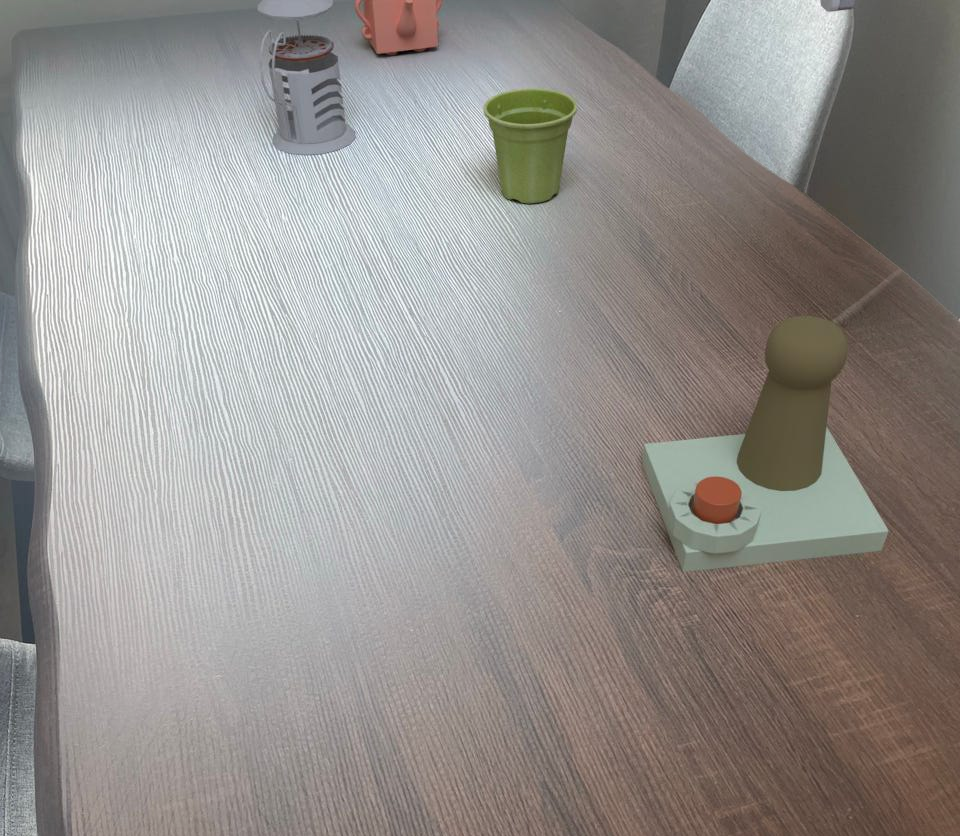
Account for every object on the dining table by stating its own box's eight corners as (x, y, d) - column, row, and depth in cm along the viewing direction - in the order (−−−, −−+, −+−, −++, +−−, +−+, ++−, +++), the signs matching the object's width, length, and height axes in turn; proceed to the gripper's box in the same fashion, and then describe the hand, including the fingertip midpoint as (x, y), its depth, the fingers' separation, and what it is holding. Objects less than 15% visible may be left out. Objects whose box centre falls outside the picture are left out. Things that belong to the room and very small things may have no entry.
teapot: (430, 24, 145) (427, -45, 139) (458, 59, 136) (455, -13, 129) (348, 34, 143) (341, -36, 137) (370, 71, 134) (364, -2, 127)
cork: (720, 466, 74) (745, 330, 66) (765, 428, 77) (795, 293, 69) (793, 502, 71) (829, 364, 63) (838, 461, 74) (878, 324, 66)
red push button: (730, 494, 70) (734, 473, 69) (743, 522, 68) (747, 502, 67) (687, 498, 70) (690, 478, 68) (699, 527, 68) (702, 507, 66)
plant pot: (497, 217, 105) (496, 129, 99) (476, 179, 111) (473, 93, 105) (585, 205, 106) (589, 117, 100) (559, 168, 112) (561, 83, 106)
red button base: (820, 445, 78) (831, 407, 76) (884, 555, 70) (898, 517, 67) (635, 464, 77) (639, 426, 75) (677, 578, 69) (684, 539, 66)
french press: (371, 128, 121) (345, -132, 103) (317, 167, 114) (279, -104, 96) (302, 115, 124) (265, -139, 106) (245, 152, 117) (195, -113, 99)
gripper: (807, -290, 48) (759, 35, 58) (1219, -323, 49) (1101, 2, 60) (764, -306, 52) (727, 0, 63) (1144, -336, 54) (1047, -31, 64)
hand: (912, 0), depth 61 cm, fingers open, 8 cm apart
